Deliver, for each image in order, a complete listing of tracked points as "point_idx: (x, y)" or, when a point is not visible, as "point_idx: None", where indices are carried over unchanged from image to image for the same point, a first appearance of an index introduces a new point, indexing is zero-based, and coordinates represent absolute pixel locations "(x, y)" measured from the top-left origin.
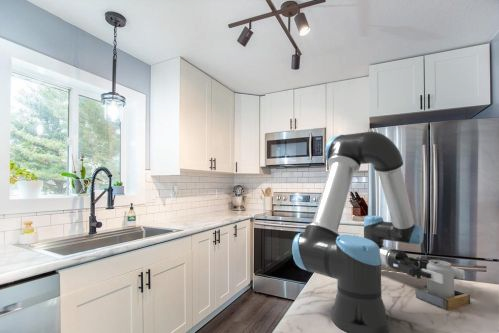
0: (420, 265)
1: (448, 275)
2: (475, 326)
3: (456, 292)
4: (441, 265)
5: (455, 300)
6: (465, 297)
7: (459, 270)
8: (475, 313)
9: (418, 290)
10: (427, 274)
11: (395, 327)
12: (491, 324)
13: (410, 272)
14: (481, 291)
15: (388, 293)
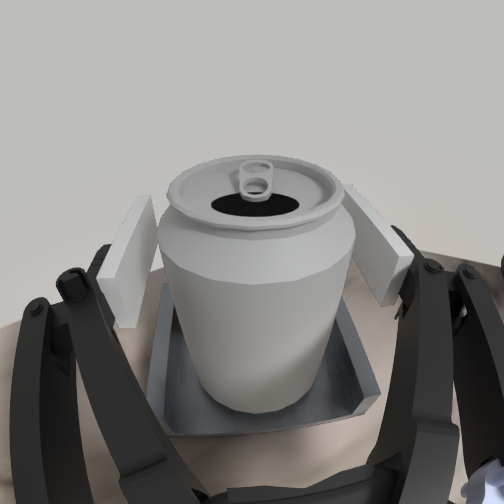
0: (197, 484)
1: (273, 208)
2: None
3: (173, 326)
4: (305, 162)
5: None
6: None
7: (146, 209)
8: None
9: (373, 380)
10: (398, 232)
11: (491, 267)
12: None
13: (456, 336)
14: (11, 349)
15: (461, 463)
